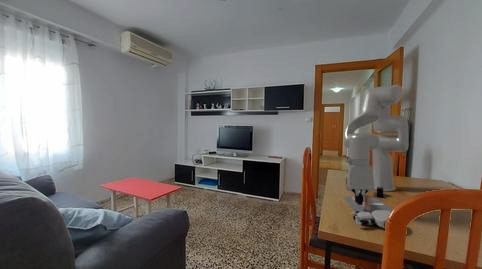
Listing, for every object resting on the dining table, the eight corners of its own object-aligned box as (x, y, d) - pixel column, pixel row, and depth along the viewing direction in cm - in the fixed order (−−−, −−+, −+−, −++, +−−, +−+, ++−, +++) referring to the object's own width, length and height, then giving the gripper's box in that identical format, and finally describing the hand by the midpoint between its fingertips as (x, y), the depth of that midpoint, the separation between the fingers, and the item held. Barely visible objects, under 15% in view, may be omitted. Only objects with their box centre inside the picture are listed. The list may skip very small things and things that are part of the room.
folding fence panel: (359, 203, 97) (359, 190, 97) (362, 203, 97) (362, 190, 97) (367, 210, 88) (367, 197, 88) (370, 211, 88) (370, 197, 88)
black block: (388, 201, 103) (388, 192, 103) (371, 198, 107) (371, 189, 107) (387, 194, 113) (387, 185, 113) (372, 192, 117) (372, 184, 117)
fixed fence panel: (352, 198, 106) (352, 184, 106) (355, 198, 106) (355, 184, 106) (358, 204, 98) (358, 189, 97) (362, 204, 97) (362, 189, 97)
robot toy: (357, 232, 74) (406, 235, 70) (356, 220, 74) (405, 222, 70) (350, 218, 86) (392, 219, 81) (349, 207, 86) (391, 208, 81)
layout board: (343, 197, 108) (343, 196, 107) (377, 198, 104) (377, 198, 104) (356, 212, 89) (356, 211, 89) (398, 214, 86) (398, 213, 86)
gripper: (343, 164, 88) (343, 206, 89) (382, 164, 85) (382, 208, 86) (338, 161, 95) (338, 200, 96) (374, 161, 92) (374, 201, 93)
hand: (359, 203), depth 91 cm, fingers closed
